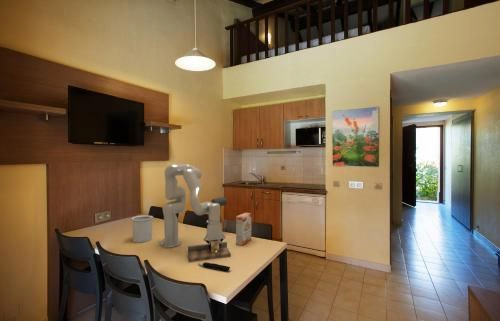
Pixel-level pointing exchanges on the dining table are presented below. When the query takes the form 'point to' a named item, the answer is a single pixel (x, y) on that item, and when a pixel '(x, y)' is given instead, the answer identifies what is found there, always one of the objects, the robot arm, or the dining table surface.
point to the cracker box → (243, 228)
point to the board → (206, 252)
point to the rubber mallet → (221, 201)
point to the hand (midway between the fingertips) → (214, 249)
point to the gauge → (215, 246)
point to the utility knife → (215, 266)
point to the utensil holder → (142, 228)
